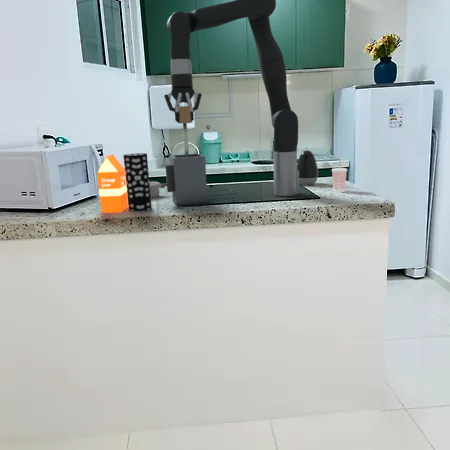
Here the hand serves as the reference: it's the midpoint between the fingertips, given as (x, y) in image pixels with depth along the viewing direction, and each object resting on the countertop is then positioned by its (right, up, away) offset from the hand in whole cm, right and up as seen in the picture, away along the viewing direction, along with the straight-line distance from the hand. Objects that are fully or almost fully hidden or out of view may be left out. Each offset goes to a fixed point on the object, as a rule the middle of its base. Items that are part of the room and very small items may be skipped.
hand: (184, 122), depth 163 cm
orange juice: (-26, -32, +2) cm, 41 cm away
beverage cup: (+61, -24, +18) cm, 68 cm away
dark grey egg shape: (+52, -20, +37) cm, 66 cm away
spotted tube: (-16, -32, +1) cm, 36 cm away
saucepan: (-14, -26, +25) cm, 39 cm away
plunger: (+1, -18, +5) cm, 19 cm away
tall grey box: (0, -29, +7) cm, 30 cm away
